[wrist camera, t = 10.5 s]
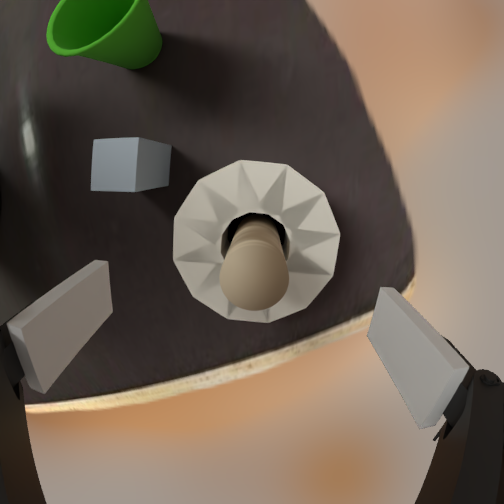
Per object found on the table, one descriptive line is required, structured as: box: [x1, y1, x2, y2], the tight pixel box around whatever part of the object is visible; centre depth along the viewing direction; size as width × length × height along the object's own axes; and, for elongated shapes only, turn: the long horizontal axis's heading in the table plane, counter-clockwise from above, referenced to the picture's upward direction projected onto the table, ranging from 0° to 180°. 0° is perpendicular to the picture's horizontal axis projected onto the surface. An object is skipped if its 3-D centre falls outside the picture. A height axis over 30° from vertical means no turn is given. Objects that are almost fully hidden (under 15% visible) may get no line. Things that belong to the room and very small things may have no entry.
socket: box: [173, 160, 340, 323], centre depth 26 cm, size 14×14×5 cm
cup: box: [47, 0, 162, 69], centre depth 18 cm, size 9×9×11 cm
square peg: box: [91, 137, 172, 192], centre depth 23 cm, size 4×4×8 cm
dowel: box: [219, 214, 289, 311], centre depth 22 cm, size 4×4×12 cm
